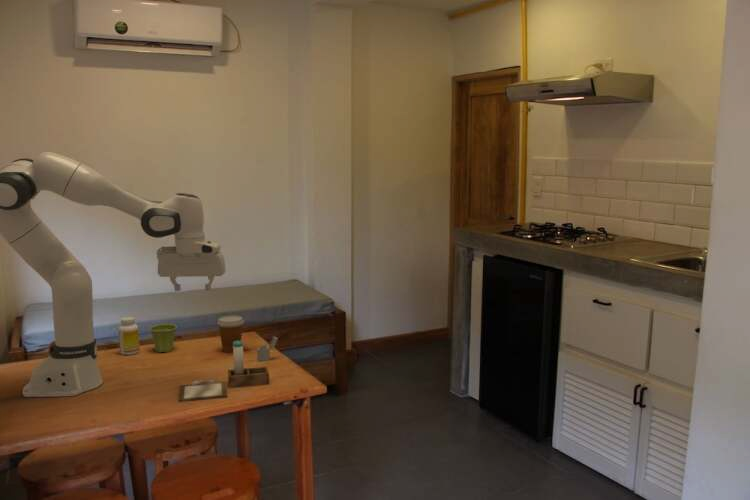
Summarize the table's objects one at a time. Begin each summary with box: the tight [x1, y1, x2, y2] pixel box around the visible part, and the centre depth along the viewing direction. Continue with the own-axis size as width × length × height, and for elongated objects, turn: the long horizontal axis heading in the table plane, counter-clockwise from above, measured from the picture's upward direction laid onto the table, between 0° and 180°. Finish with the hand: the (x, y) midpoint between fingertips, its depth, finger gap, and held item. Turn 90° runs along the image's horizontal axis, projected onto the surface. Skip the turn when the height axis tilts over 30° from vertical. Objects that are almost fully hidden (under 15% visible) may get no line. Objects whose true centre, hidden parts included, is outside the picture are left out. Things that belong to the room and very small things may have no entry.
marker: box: [232, 340, 244, 376], centre depth 202 cm, size 3×3×14 cm
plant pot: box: [149, 323, 178, 353], centre depth 234 cm, size 9×9×9 cm
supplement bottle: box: [118, 316, 140, 356], centre depth 231 cm, size 7×7×13 cm
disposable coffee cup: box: [217, 315, 245, 354], centre depth 234 cm, size 10×10×12 cm
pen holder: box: [227, 366, 270, 389], centre depth 203 cm, size 12×7×4 cm, turn 105°
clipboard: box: [177, 379, 228, 403], centre depth 195 cm, size 14×12×2 cm
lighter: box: [256, 336, 279, 362], centre depth 224 cm, size 7×2×8 cm, turn 113°
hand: (192, 290), depth 197 cm, fingers open, 8 cm apart
